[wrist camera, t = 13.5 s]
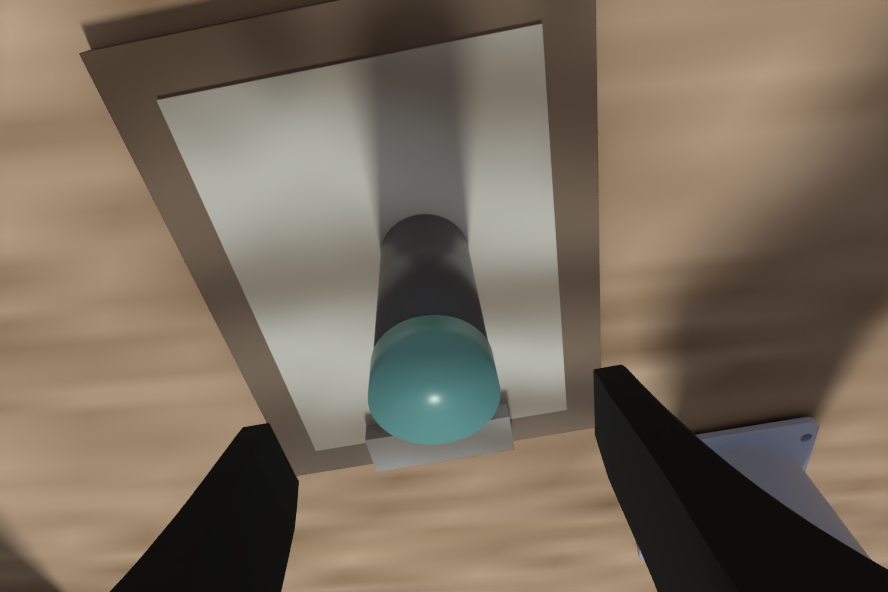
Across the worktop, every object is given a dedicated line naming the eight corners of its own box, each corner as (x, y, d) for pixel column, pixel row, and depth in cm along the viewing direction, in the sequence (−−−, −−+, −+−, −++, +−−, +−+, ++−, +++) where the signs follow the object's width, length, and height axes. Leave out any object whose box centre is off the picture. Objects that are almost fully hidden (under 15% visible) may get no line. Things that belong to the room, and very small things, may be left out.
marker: (475, 284, 19) (506, 433, 13) (390, 299, 19) (384, 453, 13) (463, 205, 17) (493, 336, 12) (369, 221, 18) (352, 359, 12)
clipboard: (597, 416, 24) (607, 442, 23) (296, 465, 25) (290, 493, 24) (588, -52, 14) (605, -52, 13) (89, 49, 15) (60, 59, 14)
